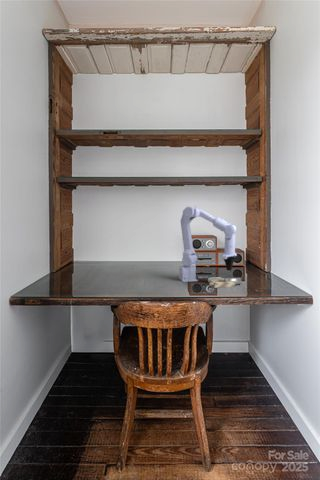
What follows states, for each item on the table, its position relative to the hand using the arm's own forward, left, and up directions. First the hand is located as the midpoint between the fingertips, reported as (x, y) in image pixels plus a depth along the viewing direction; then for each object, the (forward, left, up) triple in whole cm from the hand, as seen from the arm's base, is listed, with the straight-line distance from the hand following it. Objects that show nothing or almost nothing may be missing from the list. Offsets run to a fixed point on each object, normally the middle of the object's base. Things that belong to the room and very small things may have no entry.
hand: (229, 270), depth 175 cm
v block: (-4, +7, -9) cm, 12 cm away
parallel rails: (-4, 0, -9) cm, 10 cm away
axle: (+3, 0, -7) cm, 7 cm away
